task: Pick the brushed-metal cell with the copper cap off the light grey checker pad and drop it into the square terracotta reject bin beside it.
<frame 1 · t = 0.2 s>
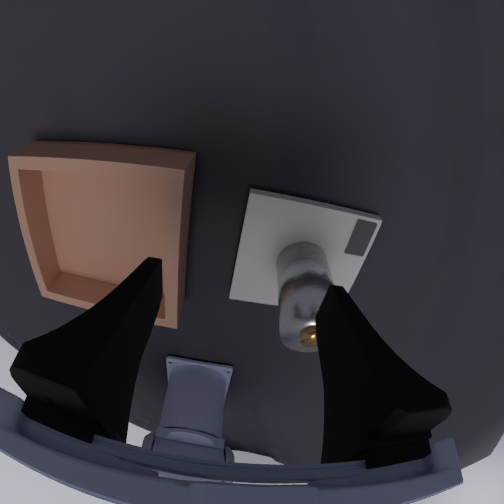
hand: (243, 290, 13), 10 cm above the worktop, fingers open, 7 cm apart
cell: (301, 262, 23), point 1 cm above the worktop, touching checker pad
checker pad: (300, 256, 24), on the worktop
reject bin: (107, 224, 22), on the worktop
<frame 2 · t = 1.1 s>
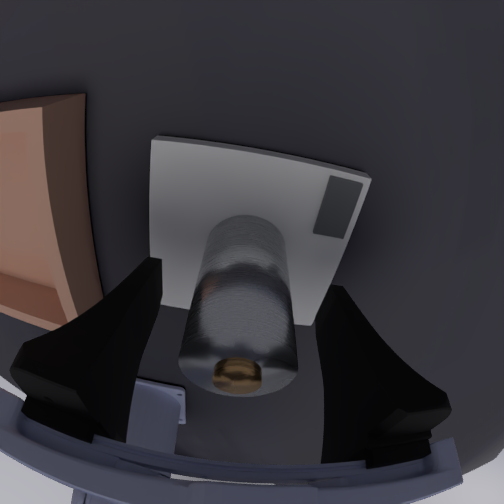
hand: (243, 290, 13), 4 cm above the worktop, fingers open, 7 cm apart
cell: (245, 249, 15), point 1 cm above the worktop, touching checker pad
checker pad: (246, 241, 16), on the worktop
reject bin: (8, 205, 14), on the worktop
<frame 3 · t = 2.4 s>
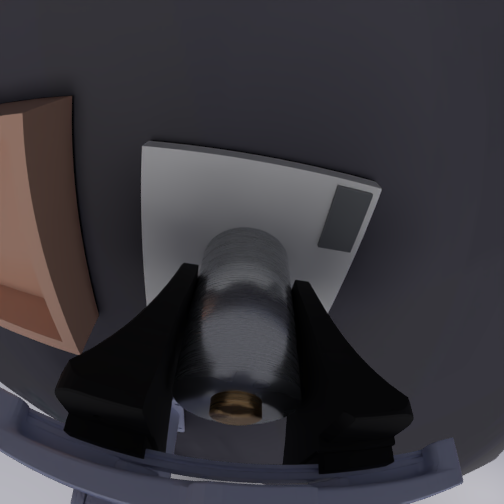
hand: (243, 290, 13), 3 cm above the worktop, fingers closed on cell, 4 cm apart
cell: (245, 263, 14), point 1 cm above the worktop, touching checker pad, gripper
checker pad: (246, 253, 15), on the worktop
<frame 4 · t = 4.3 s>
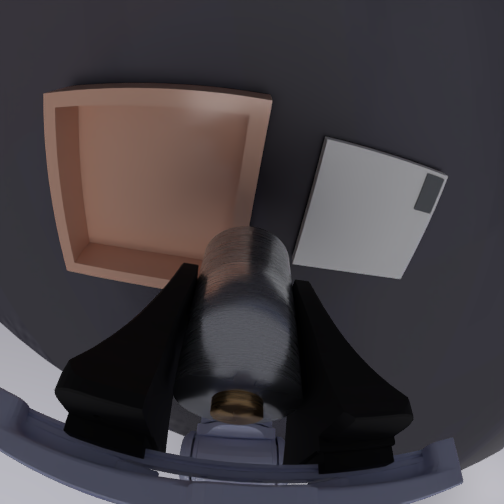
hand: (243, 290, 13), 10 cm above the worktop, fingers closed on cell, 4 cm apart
cell: (246, 263, 14), point 8 cm above the worktop, touching gripper
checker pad: (369, 214, 21), on the worktop
reject bin: (155, 180, 20), on the worktop
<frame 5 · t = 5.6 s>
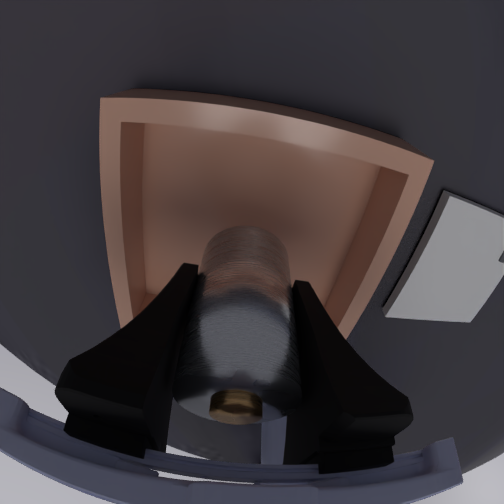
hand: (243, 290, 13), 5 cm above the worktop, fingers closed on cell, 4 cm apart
cell: (245, 262, 14), point 3 cm above the worktop, touching gripper
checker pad: (460, 266, 18), on the worktop
reject bin: (248, 226, 17), on the worktop
when the fingers open (4 cm above the worktop, at t = 6.6 s): cell drops 2 cm, resting on reject bin.
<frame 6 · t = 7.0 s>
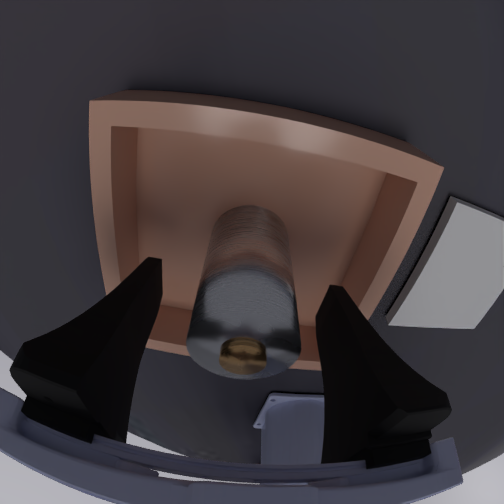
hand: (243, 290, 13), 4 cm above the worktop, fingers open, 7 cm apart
cell: (249, 239, 16), point 1 cm above the worktop, touching reject bin
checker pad: (465, 273, 17), on the worktop
reject bin: (247, 234, 16), on the worktop
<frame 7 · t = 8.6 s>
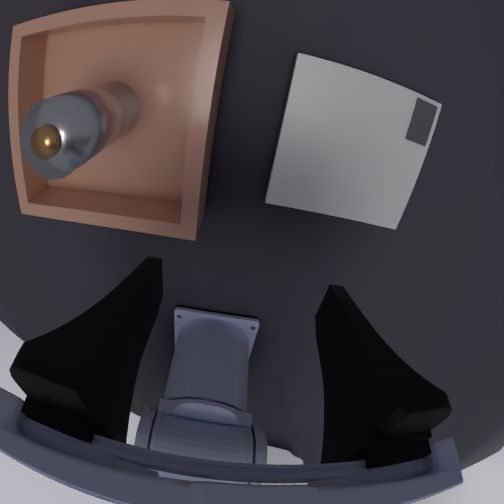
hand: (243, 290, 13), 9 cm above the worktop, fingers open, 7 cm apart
cell: (112, 110, 16), point 1 cm above the worktop, touching reject bin
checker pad: (354, 145, 18), on the worktop
reject bin: (114, 109, 17), on the worktop
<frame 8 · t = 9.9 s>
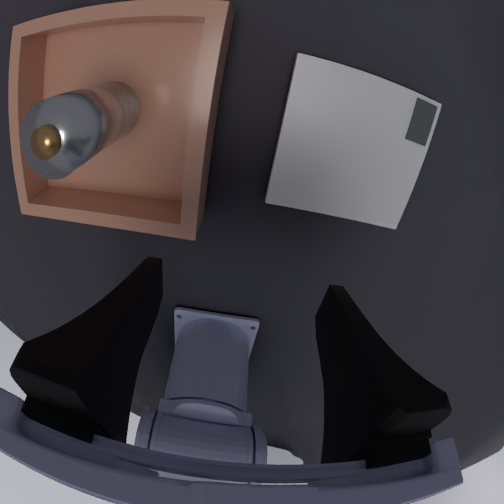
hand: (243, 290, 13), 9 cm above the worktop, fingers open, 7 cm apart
cell: (112, 110, 16), point 1 cm above the worktop, touching reject bin
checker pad: (354, 145, 18), on the worktop
reject bin: (114, 109, 17), on the worktop
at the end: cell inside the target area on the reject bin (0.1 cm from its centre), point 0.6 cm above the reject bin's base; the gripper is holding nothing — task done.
